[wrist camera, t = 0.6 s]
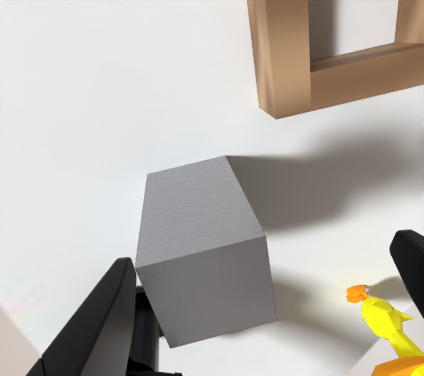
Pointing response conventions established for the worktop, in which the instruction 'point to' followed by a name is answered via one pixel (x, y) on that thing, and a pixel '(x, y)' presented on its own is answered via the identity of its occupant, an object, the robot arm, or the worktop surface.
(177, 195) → the steel block
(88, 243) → the worktop surface
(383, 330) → the toy figure
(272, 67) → the brown wooden square frame
